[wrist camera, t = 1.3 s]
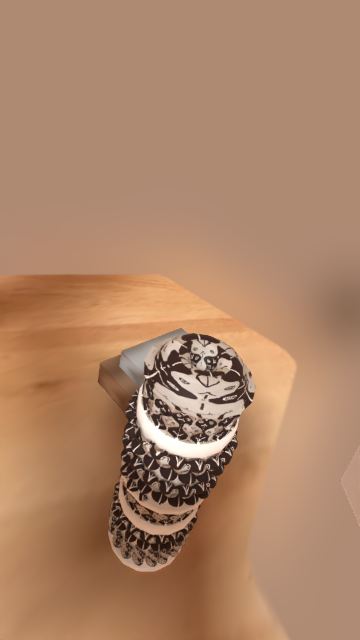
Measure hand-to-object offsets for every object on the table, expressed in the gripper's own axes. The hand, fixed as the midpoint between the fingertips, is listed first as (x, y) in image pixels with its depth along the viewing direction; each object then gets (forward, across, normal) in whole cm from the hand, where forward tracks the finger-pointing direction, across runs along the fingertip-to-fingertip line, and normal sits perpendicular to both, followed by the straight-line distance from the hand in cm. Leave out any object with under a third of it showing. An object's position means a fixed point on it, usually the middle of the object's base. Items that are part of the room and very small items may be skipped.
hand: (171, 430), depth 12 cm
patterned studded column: (+14, 0, -29) cm, 32 cm away
